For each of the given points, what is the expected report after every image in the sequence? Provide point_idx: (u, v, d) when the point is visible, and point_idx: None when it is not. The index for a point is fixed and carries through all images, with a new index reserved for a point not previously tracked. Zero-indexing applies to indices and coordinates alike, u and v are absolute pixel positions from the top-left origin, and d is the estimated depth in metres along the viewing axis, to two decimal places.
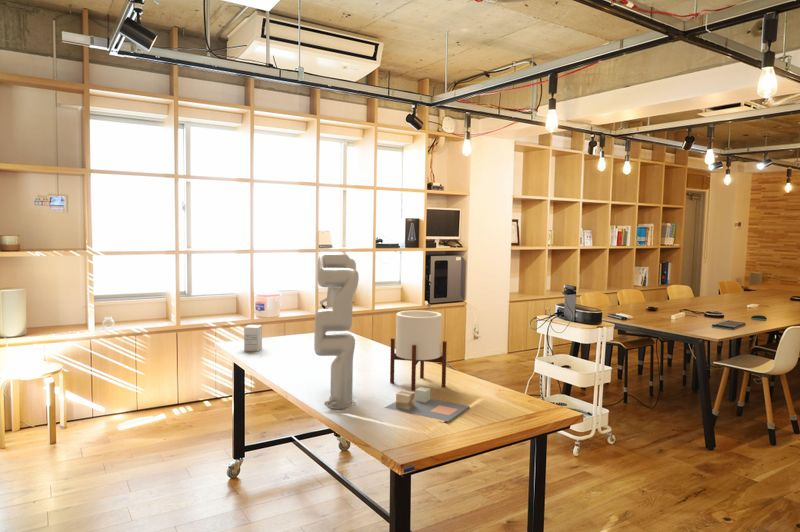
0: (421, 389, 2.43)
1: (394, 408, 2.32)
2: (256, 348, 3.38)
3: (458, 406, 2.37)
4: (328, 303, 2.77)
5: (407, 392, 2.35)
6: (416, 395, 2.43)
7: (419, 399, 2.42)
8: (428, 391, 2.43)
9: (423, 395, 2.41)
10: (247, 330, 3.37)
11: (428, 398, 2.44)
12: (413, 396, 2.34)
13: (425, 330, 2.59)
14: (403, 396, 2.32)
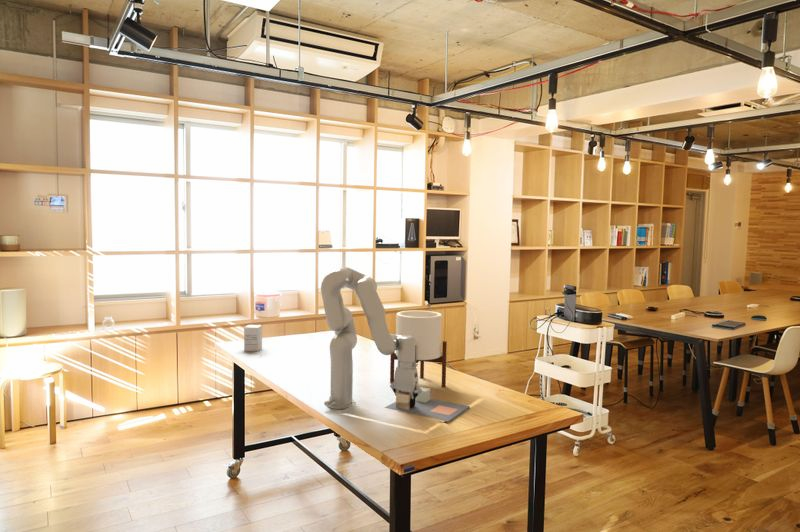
0: (421, 389, 2.43)
1: (394, 408, 2.32)
2: (256, 348, 3.38)
3: (458, 406, 2.37)
4: None
5: (407, 392, 2.35)
6: None
7: (419, 399, 2.42)
8: (428, 391, 2.43)
9: (423, 395, 2.41)
10: (247, 330, 3.37)
11: (428, 398, 2.44)
12: None
13: (425, 330, 2.59)
14: (403, 396, 2.32)
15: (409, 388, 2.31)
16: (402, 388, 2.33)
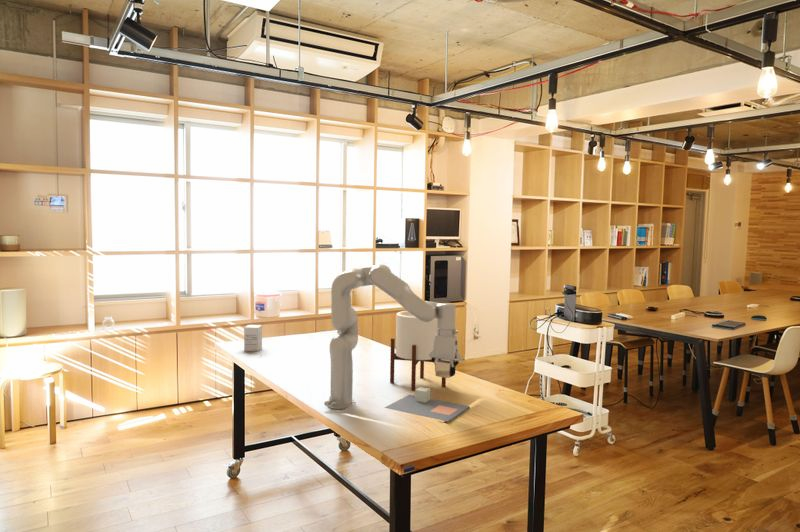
0: (421, 389, 2.43)
1: (394, 408, 2.32)
2: (256, 348, 3.38)
3: (458, 406, 2.37)
4: None
5: (447, 361, 2.31)
6: (416, 395, 2.43)
7: (419, 399, 2.42)
8: (428, 391, 2.43)
9: (423, 395, 2.41)
10: (247, 330, 3.37)
11: (428, 398, 2.44)
12: None
13: (425, 330, 2.59)
14: (443, 364, 2.27)
15: (449, 356, 2.26)
16: (442, 356, 2.28)
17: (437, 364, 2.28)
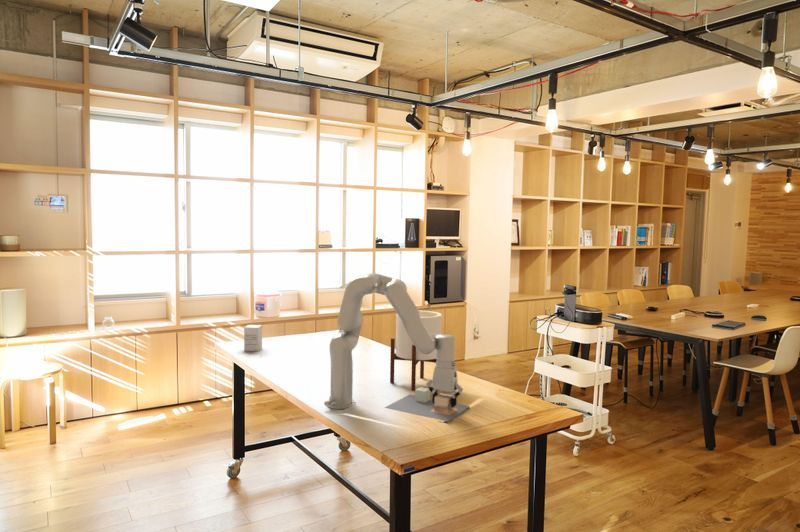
0: (421, 389, 2.43)
1: (394, 408, 2.32)
2: (256, 348, 3.38)
3: (458, 406, 2.37)
4: None
5: (445, 395, 2.32)
6: (416, 395, 2.43)
7: (419, 399, 2.42)
8: (428, 391, 2.43)
9: (423, 395, 2.41)
10: (247, 330, 3.37)
11: (428, 398, 2.44)
12: None
13: None
14: (442, 399, 2.28)
15: (448, 388, 2.27)
16: (441, 388, 2.29)
17: (436, 399, 2.29)
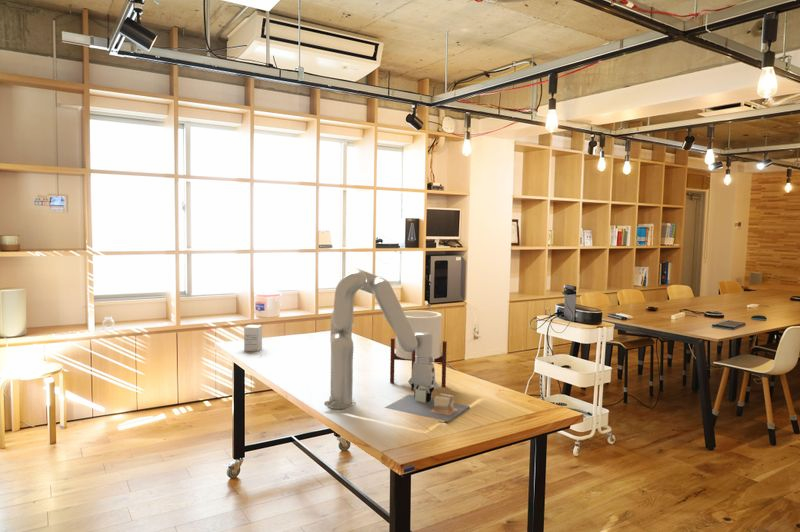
0: (421, 389, 2.43)
1: (394, 408, 2.32)
2: (256, 348, 3.38)
3: (458, 406, 2.37)
4: None
5: (445, 395, 2.32)
6: (416, 395, 2.43)
7: (419, 399, 2.42)
8: None
9: (423, 395, 2.41)
10: (247, 330, 3.37)
11: None
12: (452, 399, 2.31)
13: (425, 330, 2.59)
14: (442, 399, 2.28)
15: (426, 383, 2.40)
16: (419, 383, 2.42)
17: (436, 399, 2.29)
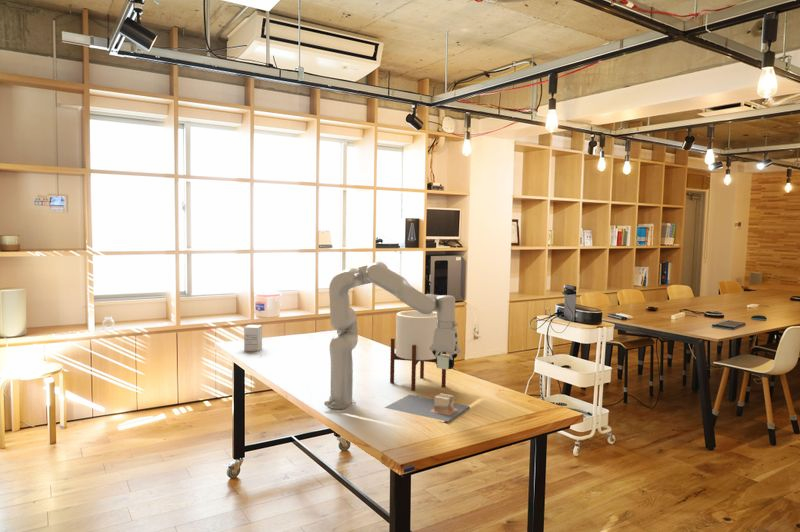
0: (444, 356, 2.29)
1: (394, 408, 2.32)
2: (256, 348, 3.38)
3: (458, 406, 2.37)
4: None
5: (445, 395, 2.32)
6: (438, 362, 2.29)
7: (441, 366, 2.28)
8: None
9: (445, 361, 2.27)
10: (247, 330, 3.37)
11: None
12: (452, 399, 2.31)
13: (425, 330, 2.59)
14: (442, 399, 2.28)
15: (449, 348, 2.26)
16: (442, 349, 2.28)
17: (436, 399, 2.29)
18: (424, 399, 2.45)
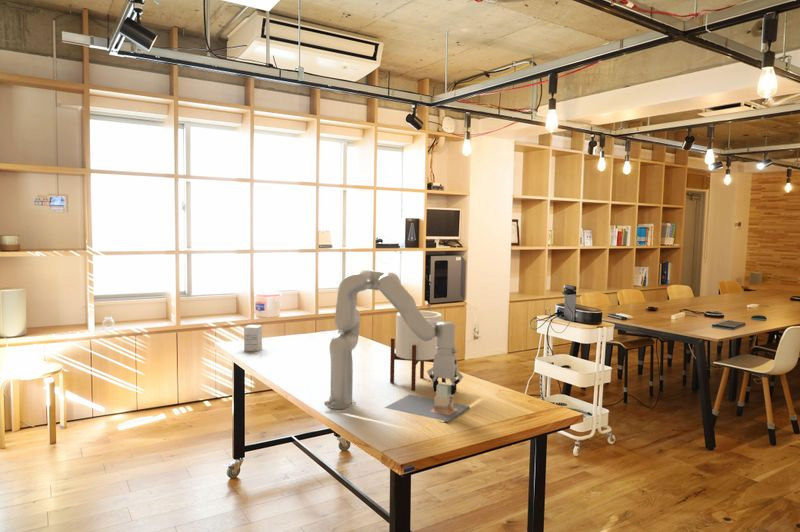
0: (443, 385, 2.30)
1: (394, 408, 2.32)
2: (256, 348, 3.38)
3: (458, 406, 2.37)
4: None
5: None
6: (437, 391, 2.29)
7: (441, 395, 2.29)
8: (450, 387, 2.30)
9: (445, 390, 2.28)
10: (247, 330, 3.37)
11: (450, 394, 2.30)
12: (452, 399, 2.31)
13: None
14: (442, 399, 2.28)
15: (449, 375, 2.27)
16: (441, 375, 2.28)
17: (436, 399, 2.29)
18: (424, 399, 2.45)
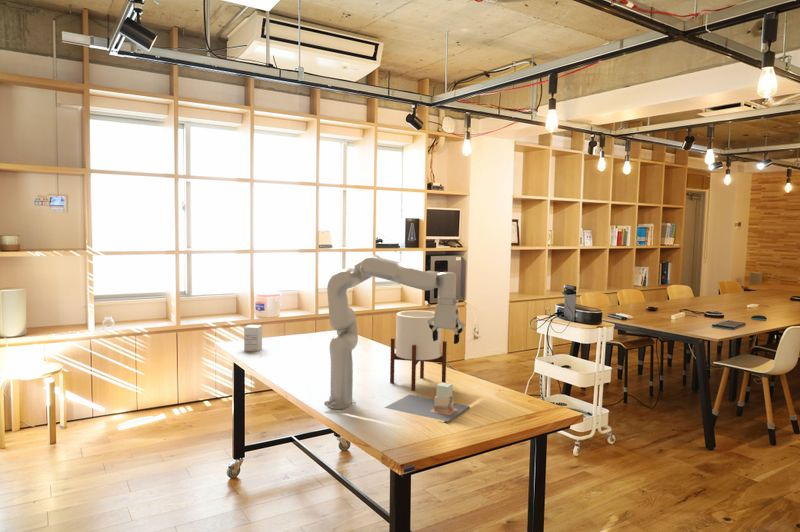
0: (443, 385, 2.30)
1: (394, 408, 2.32)
2: (256, 348, 3.38)
3: (458, 406, 2.37)
4: None
5: None
6: (437, 391, 2.29)
7: (441, 395, 2.29)
8: (450, 387, 2.30)
9: (445, 390, 2.28)
10: (247, 330, 3.37)
11: (450, 394, 2.30)
12: (452, 399, 2.31)
13: (425, 330, 2.59)
14: (442, 399, 2.28)
15: (450, 325, 2.25)
16: (442, 325, 2.27)
17: (436, 399, 2.29)
18: (424, 399, 2.45)
